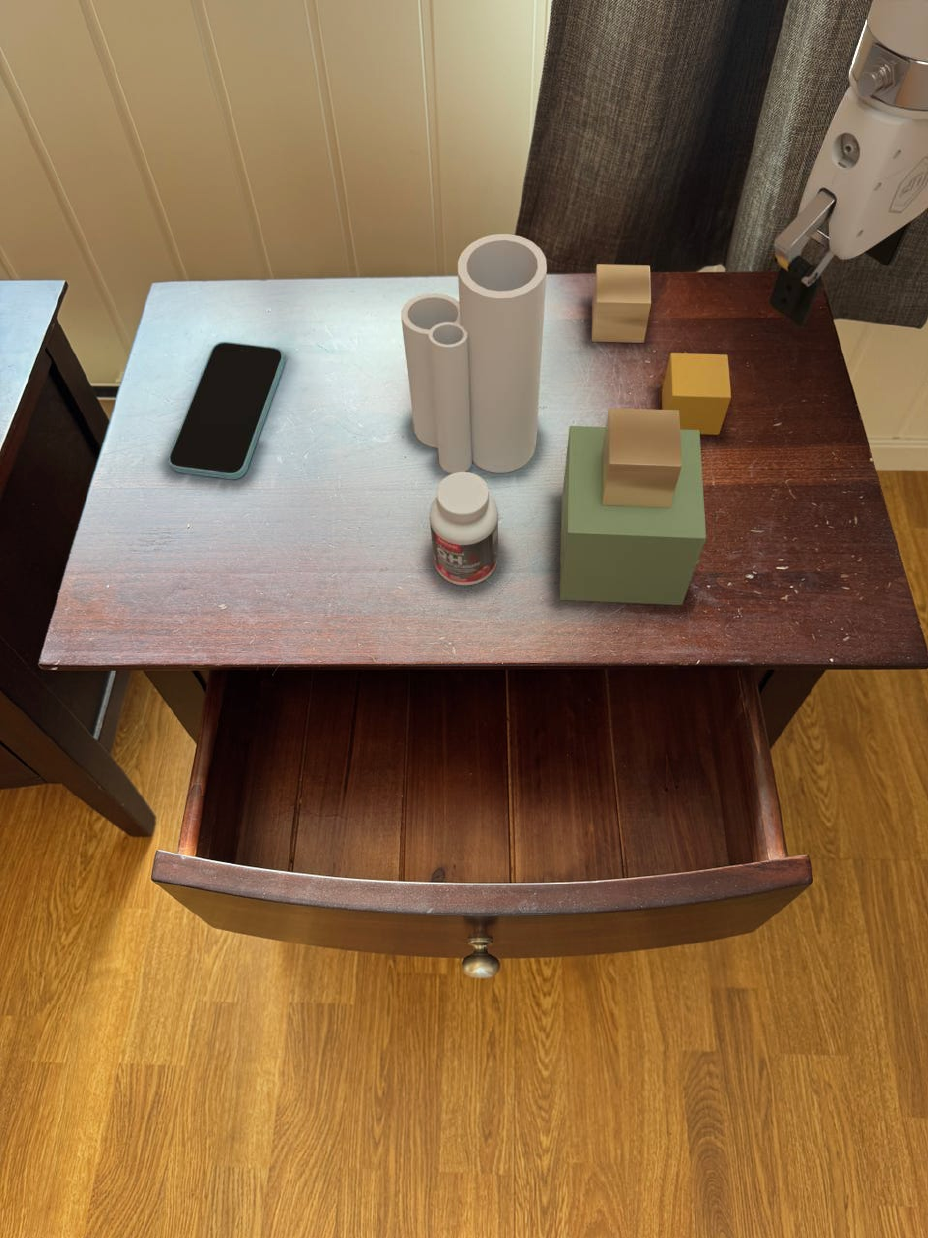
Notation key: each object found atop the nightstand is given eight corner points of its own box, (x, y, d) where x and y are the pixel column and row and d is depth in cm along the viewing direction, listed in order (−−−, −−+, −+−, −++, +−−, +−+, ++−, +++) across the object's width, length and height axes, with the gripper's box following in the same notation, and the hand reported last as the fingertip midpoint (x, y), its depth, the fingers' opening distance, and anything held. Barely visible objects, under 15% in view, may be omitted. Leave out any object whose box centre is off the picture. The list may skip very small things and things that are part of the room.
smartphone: (164, 465, 84) (214, 340, 90) (168, 472, 85) (217, 348, 91) (241, 475, 83) (286, 348, 89) (244, 483, 84) (288, 356, 90)
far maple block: (591, 304, 93) (596, 263, 88) (642, 305, 92) (649, 264, 88) (591, 341, 90) (596, 301, 86) (643, 343, 90) (651, 303, 86)
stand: (561, 500, 82) (569, 425, 73) (677, 505, 81) (699, 429, 72) (559, 600, 77) (567, 532, 68) (682, 605, 76) (706, 538, 67)
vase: (539, 417, 86) (550, 235, 69) (532, 480, 83) (542, 306, 65) (417, 407, 87) (398, 226, 69) (406, 469, 84) (382, 295, 66)
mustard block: (661, 391, 87) (670, 352, 83) (715, 392, 87) (727, 353, 82) (663, 433, 85) (672, 395, 80) (719, 435, 84) (731, 397, 80)
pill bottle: (435, 589, 78) (427, 522, 69) (433, 535, 80) (426, 464, 72) (499, 586, 78) (500, 519, 69) (496, 532, 80) (496, 461, 72)
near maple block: (601, 451, 71) (608, 407, 67) (668, 454, 71) (679, 410, 67) (601, 505, 69) (609, 463, 65) (670, 508, 69) (682, 466, 64)
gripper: (874, 148, 52) (790, 367, 67) (1062, 30, 57) (944, 258, 72) (774, 87, 55) (714, 309, 70) (960, -21, 60) (867, 209, 75)
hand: (831, 283), depth 71 cm, fingers open, 9 cm apart
